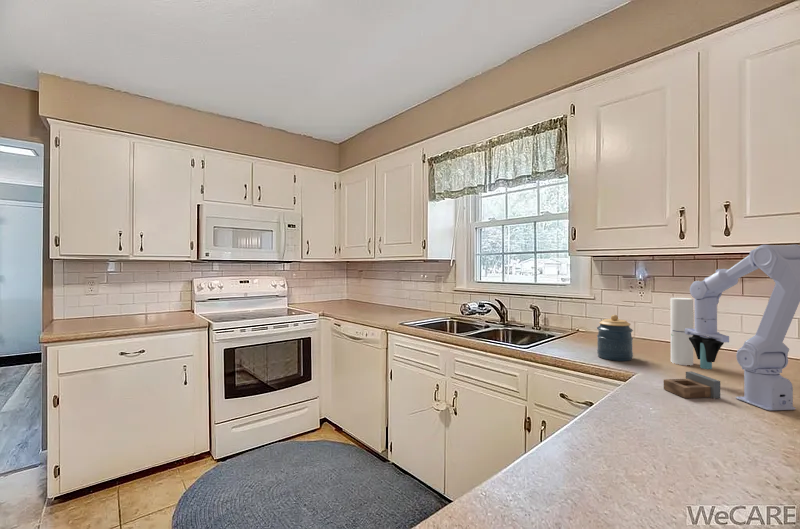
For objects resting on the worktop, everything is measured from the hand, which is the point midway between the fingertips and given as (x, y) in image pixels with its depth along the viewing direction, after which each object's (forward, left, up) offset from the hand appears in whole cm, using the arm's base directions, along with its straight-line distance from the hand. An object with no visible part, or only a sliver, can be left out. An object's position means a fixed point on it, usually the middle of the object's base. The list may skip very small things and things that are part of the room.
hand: (706, 360), depth 125 cm
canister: (+35, +8, -8) cm, 37 cm away
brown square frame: (-8, +14, -7) cm, 18 cm away
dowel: (0, 0, -2) cm, 2 cm away
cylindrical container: (+24, -12, -8) cm, 28 cm away
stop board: (-8, +9, -7) cm, 14 cm away
